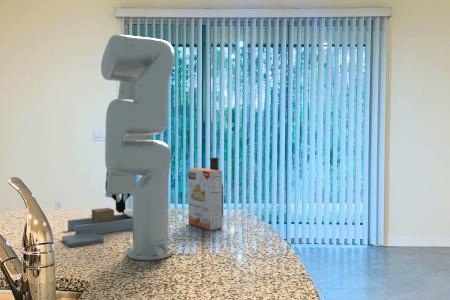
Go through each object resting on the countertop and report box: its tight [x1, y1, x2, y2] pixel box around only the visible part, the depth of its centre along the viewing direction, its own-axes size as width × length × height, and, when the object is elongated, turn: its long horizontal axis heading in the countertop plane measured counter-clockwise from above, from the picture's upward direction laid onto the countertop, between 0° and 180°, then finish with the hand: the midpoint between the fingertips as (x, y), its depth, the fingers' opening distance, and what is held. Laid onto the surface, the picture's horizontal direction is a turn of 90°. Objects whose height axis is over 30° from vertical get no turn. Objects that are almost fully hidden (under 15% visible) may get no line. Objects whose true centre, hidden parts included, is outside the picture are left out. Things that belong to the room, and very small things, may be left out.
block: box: [91, 207, 115, 224], centre depth 136 cm, size 6×6×7 cm
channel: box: [67, 210, 133, 235], centre depth 137 cm, size 11×25×4 cm, turn 125°
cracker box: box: [187, 167, 223, 232], centre depth 141 cm, size 14×6×21 cm, turn 37°
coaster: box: [61, 232, 105, 248], centre depth 120 cm, size 10×10×1 cm
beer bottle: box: [209, 157, 224, 217], centre depth 161 cm, size 8×8×24 cm
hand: (120, 212), depth 140 cm, fingers closed
